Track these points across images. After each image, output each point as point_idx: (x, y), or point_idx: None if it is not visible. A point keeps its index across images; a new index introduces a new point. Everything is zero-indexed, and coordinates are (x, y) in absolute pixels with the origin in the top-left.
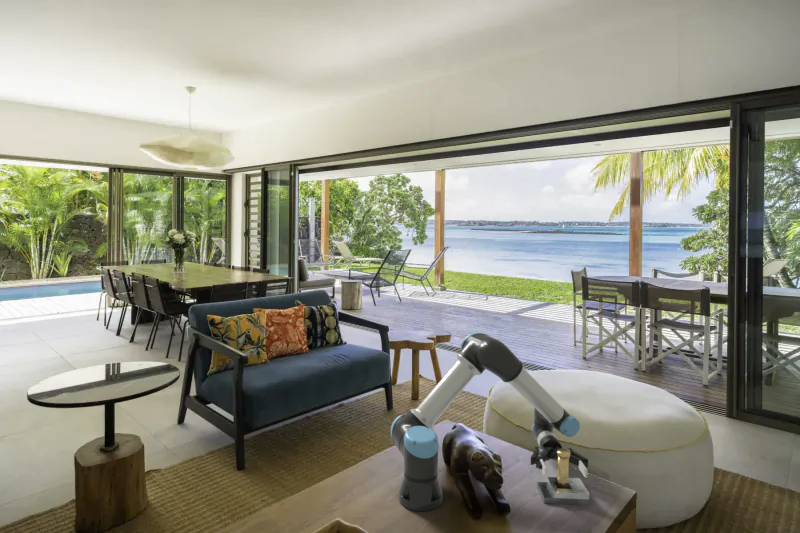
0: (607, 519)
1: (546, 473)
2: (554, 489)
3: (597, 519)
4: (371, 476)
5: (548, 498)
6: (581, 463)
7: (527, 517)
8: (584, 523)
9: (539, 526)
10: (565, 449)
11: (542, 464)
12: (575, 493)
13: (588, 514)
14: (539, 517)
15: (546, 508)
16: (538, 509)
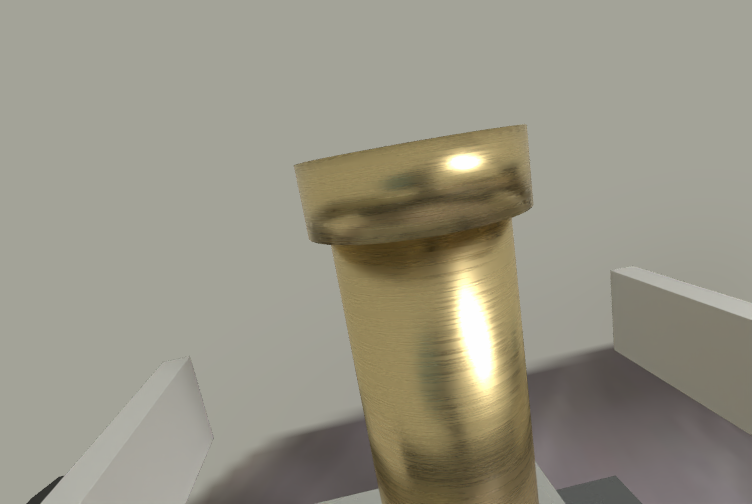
0: (218, 490)
1: (615, 324)
2: (544, 491)
3: (277, 473)
4: None
5: (582, 489)
6: (94, 471)
7: (635, 384)
8: (358, 428)
9: (555, 361)
10: (354, 154)
11: (721, 298)
12: (354, 496)
13: (309, 500)
14: (580, 400)
15: (576, 476)
16: (619, 452)
